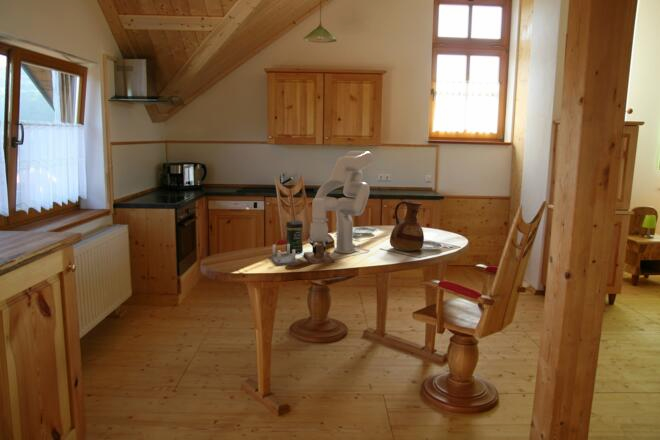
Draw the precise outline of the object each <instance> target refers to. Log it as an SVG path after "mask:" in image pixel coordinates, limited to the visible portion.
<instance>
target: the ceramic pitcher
mask: <svg viewBox="0 0 660 440" xmlns="http://www.w3.org/2000/svg"><path fill="white" fill-rule="evenodd" d="M402 204H405V205H406V209H407V210H406V214H405V217H404V218H403V219H401V220H400V219H399V218H398V209H399V207H400V206H401V205H402ZM423 204H424V203H423V202H419V201H416V200H413V199H412V200H411V199H404V200H402V201H400V202H399V203H397V204H396V206H395V208H394V217H395V221H396V222H395V223H396V224H395V225H394V227H393V229H392V231H391V234H390V238H389V244H390V246H391V247H392V248H393V249H395V250H397V251H401V252H411V251H413V252H414V251H419V250H421V249H422V248H423V246H424V243H425V242H424V241H425V234H424V230H423V228H422V226H421V224H420V223H419V222H418V218H417V216H418V213H419V208H420V207H421V206H422V205H423Z"/></svg>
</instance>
